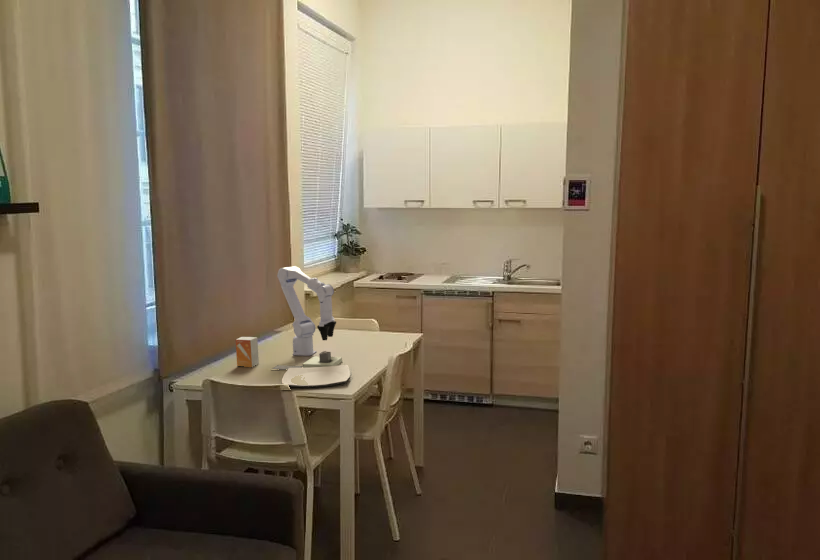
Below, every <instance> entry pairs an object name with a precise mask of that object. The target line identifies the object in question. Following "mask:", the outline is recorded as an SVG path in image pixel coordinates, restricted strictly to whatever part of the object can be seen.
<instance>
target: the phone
mask: <svg viewBox="0 0 820 560" xmlns="http://www.w3.org/2000/svg"><path fill="white" fill-rule="evenodd" d="M302 367H303V365H284V364H282V365H279V364H278V365H276V366H274V367H272V368H271V369H279V370H278V371H280V370H286V369H287V370H288V368H302Z"/></svg>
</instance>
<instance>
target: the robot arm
mask: <svg viewBox="0 0 820 560" xmlns="http://www.w3.org/2000/svg"><path fill="white" fill-rule="evenodd" d="M277 279H278V281H279V284H280V287H281V291H282V293H283V295H284V297H285V300H286V301H287V304H288V307H289V309H290V311H291V314H292V316H293V318H294V321H293V322H292V327H293V333H294V335H295V336H293V338H292V350H293V351H292V353H293V354H292V356H309V357H310V356H311V357H312V356H313V355H314V354H316V353H317V350H314V340H313V339H314V337H313V336H314V333H316V330H317V329H318V331H319V334H320V336H321V339H322V341H327V340H328V338H333V336H334V331H335V327H336V326H337V325H336V324H337V321H336V319H335V317H334V316H333V300H332V299H333V298H332V296H334V292H335V290H334V287H333V286H332V284H330V283H328V284H325V282H322V281H321V280H319V279H318V277H310V276H309V275H308V274H306V273H304V272H303V271H302V270H301V268H300V267H298V266H297V265H293V266H286V267H280V268H279V269H278V271H277ZM297 281H300V282H302V283H305V285H306V286H307V288H308V289H309V290H311V291H312V292H314V293H315V294H316V296H317V298H318V302H319V314H320V316H319V317H320V320H319V322H318V325H317V327H316V324H315V323H314V321H313V320H312V318H311V317H310V316H307V315H306V313H305V311H304V309H303V307H302V304H301V302H300V300H299V297H298V295H297V293H296V290H295V288H294V285H295V284H296V283H297ZM316 328H317V329H316Z"/></svg>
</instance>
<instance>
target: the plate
mask: <svg viewBox="0 0 820 560" xmlns="http://www.w3.org/2000/svg"><path fill="white" fill-rule="evenodd" d="M298 375H299V376H300V375H303V376H301V377H302V378H301V380H303V378H304V377H305V379H304V380H305V381H306V382H307V383H308V385H297V384H294V383H292V382H291V379H292V378H294V377H295V376H298ZM350 377H351V371H350V367H349V365H348V364H338V365H337V366H328V367H310V368H288V370H287V371H285V373H284V374H283V376H282V379H281V384H282V383H284V384H288V385H289V386H291V387H290V388H320V387H321V388H322V387H329V386H335V385H341V384H346V382H348V381H349V380H350Z"/></svg>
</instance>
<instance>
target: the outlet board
mask: <svg viewBox="0 0 820 560" xmlns="http://www.w3.org/2000/svg"><path fill="white" fill-rule="evenodd" d="M342 362H343V356H331V362H330V363H320V357H319V355H318V356H317V355H315V356H311V358H310V359H308V360H306V361H305V362H304V363H302V366H303V368H310V367H328V366H339V365H340V364H341V363H342Z"/></svg>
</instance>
